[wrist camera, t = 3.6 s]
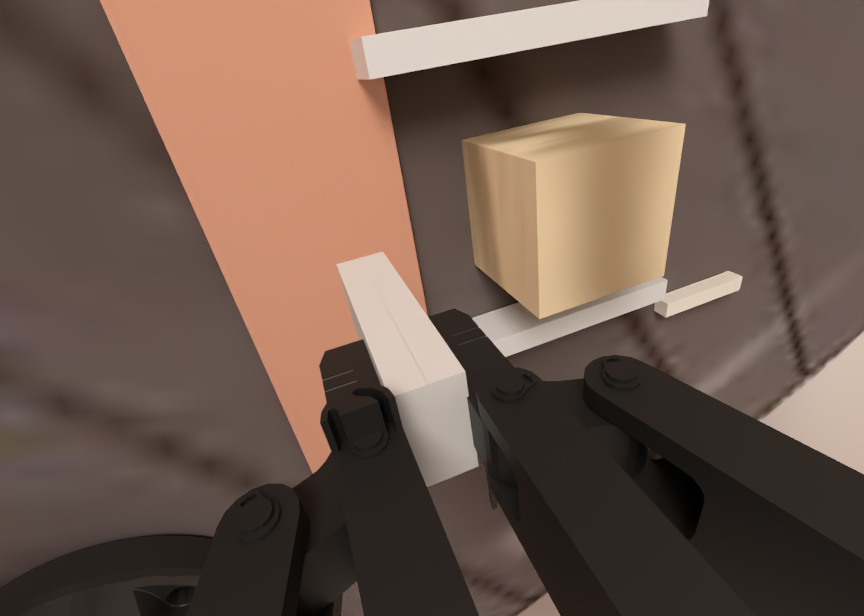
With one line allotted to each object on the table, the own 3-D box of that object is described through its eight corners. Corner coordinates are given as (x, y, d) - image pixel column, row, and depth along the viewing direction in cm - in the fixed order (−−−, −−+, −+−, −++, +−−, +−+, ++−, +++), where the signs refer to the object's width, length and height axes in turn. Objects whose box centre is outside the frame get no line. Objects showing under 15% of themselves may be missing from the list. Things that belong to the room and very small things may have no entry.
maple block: (474, 264, 22) (539, 319, 17) (460, 139, 19) (535, 162, 14) (575, 233, 23) (663, 275, 18) (578, 112, 20) (685, 123, 15)
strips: (653, 310, 28) (665, 317, 27) (709, -101, 18) (731, -110, 17) (725, 283, 29) (739, 289, 28) (816, -113, 19) (842, -122, 18)
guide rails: (414, 356, 23) (430, 384, 21) (347, 42, 16) (361, 36, 13) (632, 281, 26) (664, 299, 24) (661, -11, 19) (712, -22, 17)
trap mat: (321, 488, 25) (322, 494, 25) (-3, -236, 10) (-11, -246, 10) (448, 437, 27) (451, 442, 26) (321, -242, 12) (323, -251, 12)
